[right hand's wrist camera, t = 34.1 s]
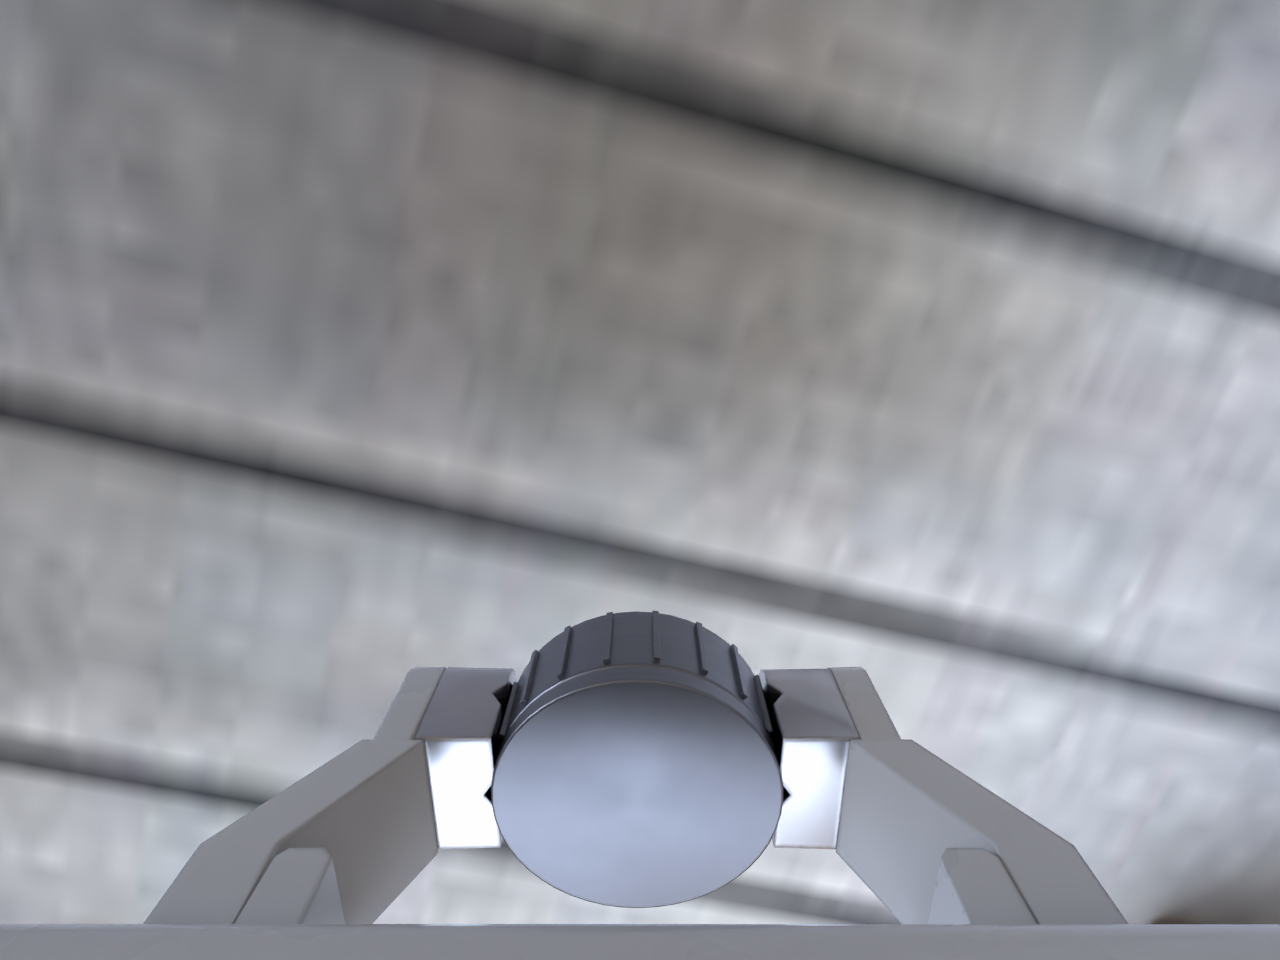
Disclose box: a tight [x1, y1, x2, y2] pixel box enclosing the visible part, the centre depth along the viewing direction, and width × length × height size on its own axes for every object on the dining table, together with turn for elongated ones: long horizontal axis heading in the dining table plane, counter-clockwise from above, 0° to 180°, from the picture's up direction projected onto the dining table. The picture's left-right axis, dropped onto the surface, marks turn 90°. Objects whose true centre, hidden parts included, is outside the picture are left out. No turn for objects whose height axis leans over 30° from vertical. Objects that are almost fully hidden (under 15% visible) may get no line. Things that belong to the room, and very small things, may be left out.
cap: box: [491, 611, 783, 908], centre depth 10 cm, size 4×4×2 cm
